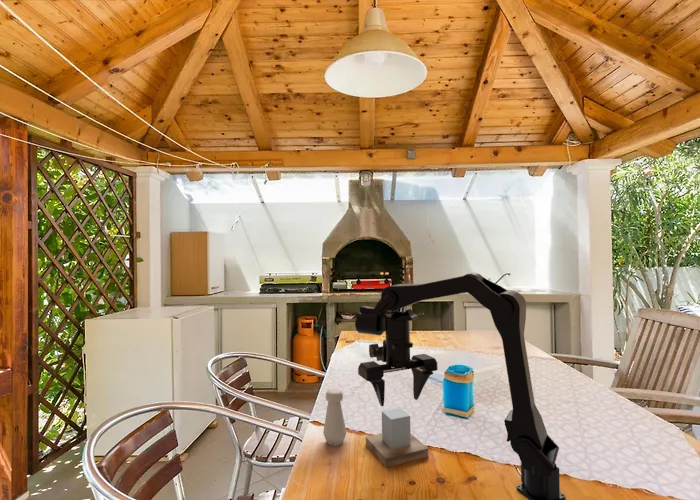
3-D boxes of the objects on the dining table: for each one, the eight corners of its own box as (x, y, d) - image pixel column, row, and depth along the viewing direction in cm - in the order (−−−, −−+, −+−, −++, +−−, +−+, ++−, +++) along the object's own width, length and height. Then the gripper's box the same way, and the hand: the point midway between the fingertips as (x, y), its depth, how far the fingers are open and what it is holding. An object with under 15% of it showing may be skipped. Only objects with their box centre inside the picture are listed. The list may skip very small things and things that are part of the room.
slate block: (410, 445, 95) (410, 415, 95) (391, 449, 93) (391, 419, 93) (400, 435, 100) (399, 407, 100) (382, 439, 98) (381, 411, 98)
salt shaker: (343, 448, 98) (342, 395, 98) (321, 446, 99) (320, 394, 99) (348, 437, 103) (347, 387, 103) (327, 435, 105) (326, 386, 104)
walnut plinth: (428, 456, 93) (428, 448, 93) (386, 467, 89) (386, 458, 89) (404, 436, 104) (404, 428, 103) (365, 444, 99) (365, 436, 99)
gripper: (413, 327, 107) (415, 385, 107) (348, 334, 100) (350, 397, 100) (438, 335, 96) (439, 400, 96) (367, 344, 89) (368, 414, 89)
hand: (399, 402), depth 96 cm, fingers open, 9 cm apart
